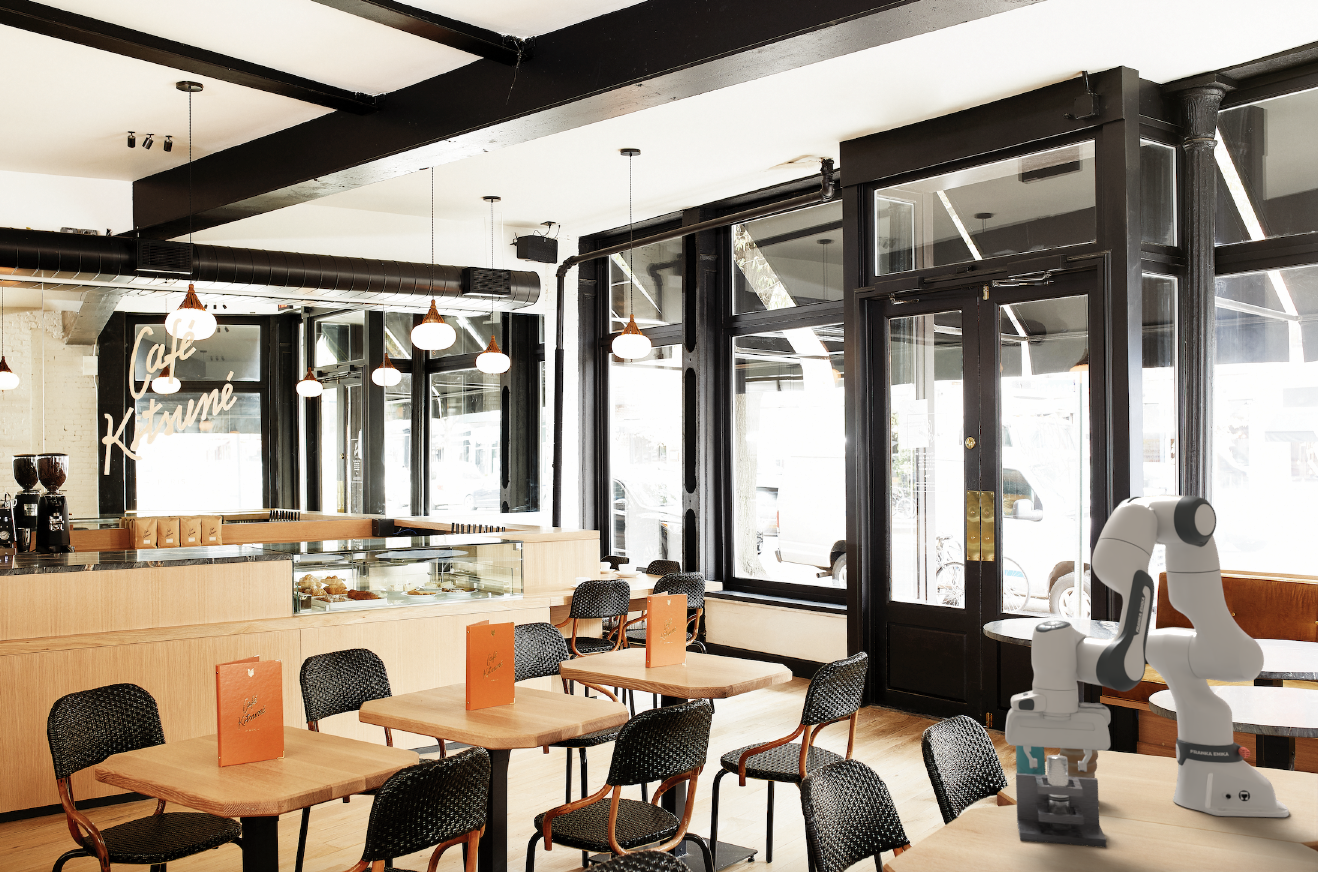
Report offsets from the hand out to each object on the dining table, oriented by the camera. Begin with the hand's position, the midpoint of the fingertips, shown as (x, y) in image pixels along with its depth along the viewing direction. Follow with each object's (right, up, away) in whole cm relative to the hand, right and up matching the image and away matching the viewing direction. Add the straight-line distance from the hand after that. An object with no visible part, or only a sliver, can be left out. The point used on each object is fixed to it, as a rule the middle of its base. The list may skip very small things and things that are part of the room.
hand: (1057, 769), depth 209 cm
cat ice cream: (+16, -15, +27) cm, 34 cm away
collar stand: (0, -13, -1) cm, 13 cm away
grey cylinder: (0, -12, -1) cm, 12 cm away
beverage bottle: (+3, -15, +23) cm, 28 cm away
